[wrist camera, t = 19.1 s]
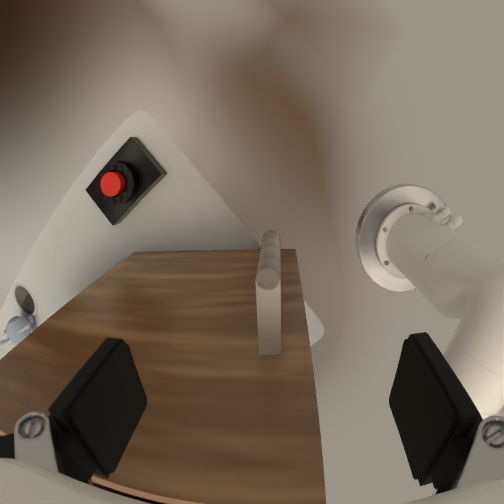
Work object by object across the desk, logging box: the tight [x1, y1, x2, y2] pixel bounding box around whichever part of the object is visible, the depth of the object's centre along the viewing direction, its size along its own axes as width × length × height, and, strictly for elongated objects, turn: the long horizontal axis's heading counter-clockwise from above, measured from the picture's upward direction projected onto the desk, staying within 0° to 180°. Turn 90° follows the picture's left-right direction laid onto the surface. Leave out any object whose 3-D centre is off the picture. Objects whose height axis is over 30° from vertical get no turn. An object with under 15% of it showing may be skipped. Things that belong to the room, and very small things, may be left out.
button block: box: [86, 137, 167, 225], centre depth 42 cm, size 12×8×4 cm, turn 130°
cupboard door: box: [0, 230, 326, 504], centre depth 27 cm, size 8×26×38 cm, turn 93°
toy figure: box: [0, 316, 34, 345], centre depth 50 cm, size 11×6×12 cm, turn 110°
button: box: [101, 171, 126, 197], centre depth 40 cm, size 4×4×2 cm
